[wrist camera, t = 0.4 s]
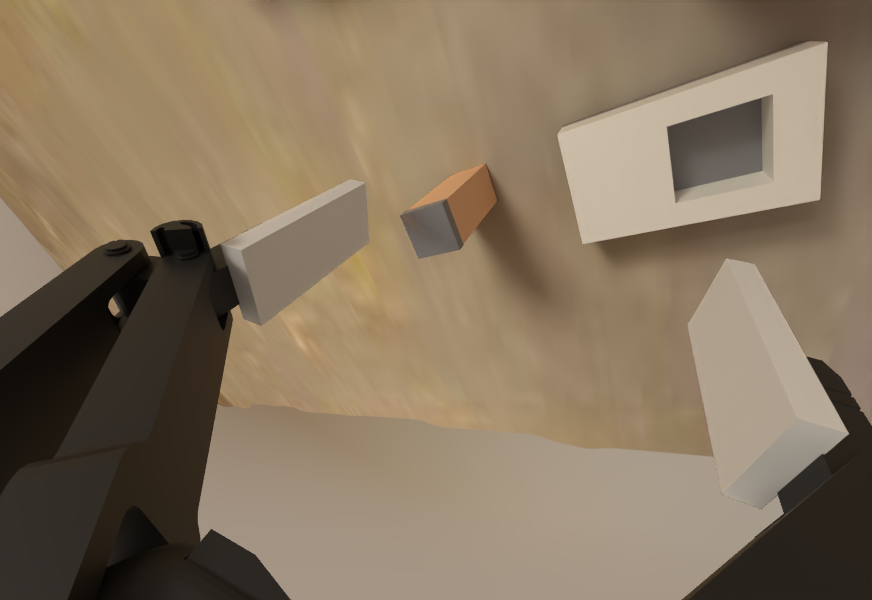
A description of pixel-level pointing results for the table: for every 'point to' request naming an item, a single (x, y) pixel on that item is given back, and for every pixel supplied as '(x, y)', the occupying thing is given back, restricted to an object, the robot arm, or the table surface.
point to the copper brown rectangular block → (450, 212)
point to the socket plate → (702, 148)
